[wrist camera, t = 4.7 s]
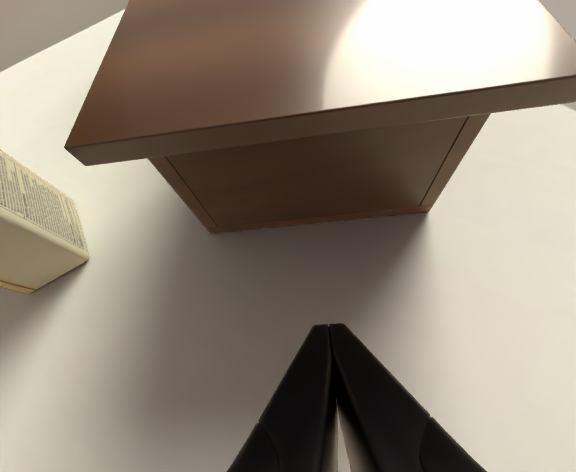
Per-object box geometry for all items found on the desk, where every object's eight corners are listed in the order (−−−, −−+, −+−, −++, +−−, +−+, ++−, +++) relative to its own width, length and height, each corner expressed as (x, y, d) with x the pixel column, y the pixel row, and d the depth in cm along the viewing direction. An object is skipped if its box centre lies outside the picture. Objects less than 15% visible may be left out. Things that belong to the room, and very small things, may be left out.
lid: (578, 102, 7) (606, 71, 6) (85, 167, 8) (62, 147, 8) (442, -70, 12) (449, -97, 11) (154, -14, 13) (144, -35, 13)
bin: (429, 212, 16) (532, 48, 8) (210, 234, 18) (107, 112, 9) (395, 110, 20) (441, -68, 12) (220, 133, 22) (154, -13, 14)
